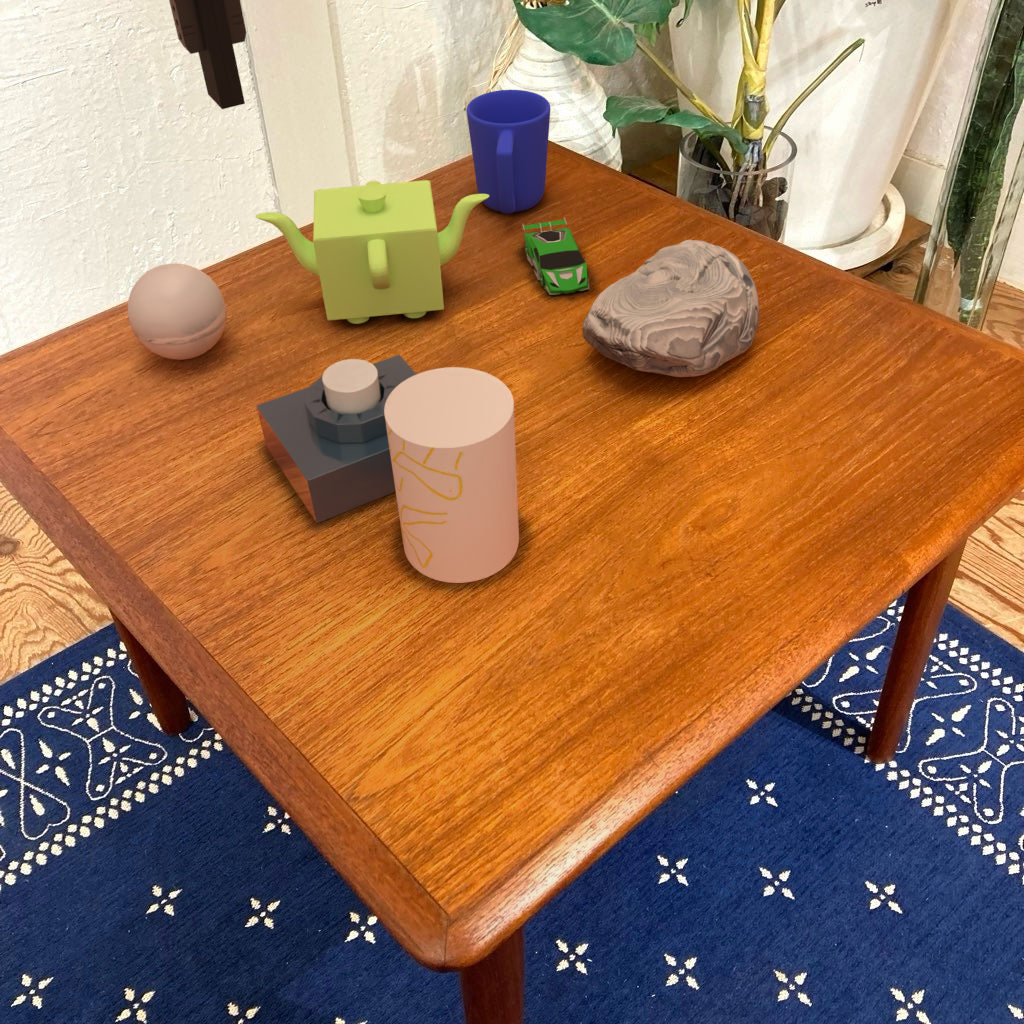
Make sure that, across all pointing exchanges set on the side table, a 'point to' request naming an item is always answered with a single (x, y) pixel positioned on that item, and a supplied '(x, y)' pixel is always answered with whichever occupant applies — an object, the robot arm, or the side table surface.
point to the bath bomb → (177, 311)
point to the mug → (509, 147)
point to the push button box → (333, 445)
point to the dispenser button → (351, 386)
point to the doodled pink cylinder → (454, 472)
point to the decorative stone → (677, 312)
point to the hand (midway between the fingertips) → (226, 98)
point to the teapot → (377, 248)
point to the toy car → (556, 258)
